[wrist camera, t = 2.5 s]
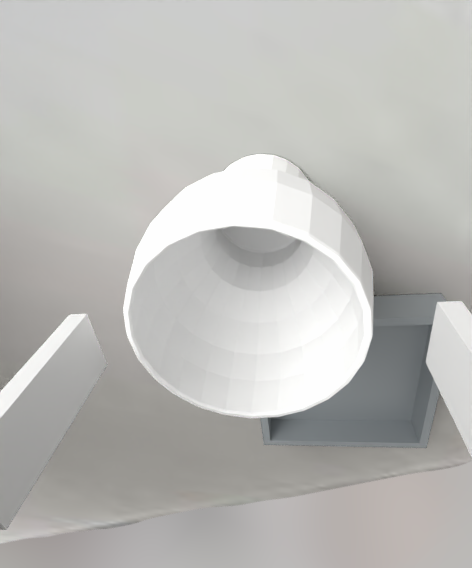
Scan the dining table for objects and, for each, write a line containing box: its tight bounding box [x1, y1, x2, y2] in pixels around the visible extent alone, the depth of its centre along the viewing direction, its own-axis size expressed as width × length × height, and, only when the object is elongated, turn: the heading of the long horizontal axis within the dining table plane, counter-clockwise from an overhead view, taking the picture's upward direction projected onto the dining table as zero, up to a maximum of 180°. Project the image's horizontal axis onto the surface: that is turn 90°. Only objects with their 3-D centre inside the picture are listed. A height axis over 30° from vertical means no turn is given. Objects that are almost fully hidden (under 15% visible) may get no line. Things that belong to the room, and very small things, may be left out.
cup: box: [123, 154, 374, 418], centre depth 20 cm, size 11×11×15 cm
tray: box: [260, 293, 447, 448], centre depth 32 cm, size 15×15×3 cm
